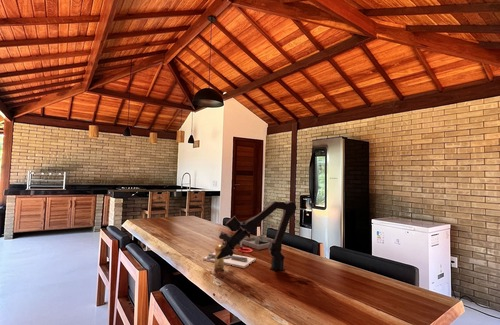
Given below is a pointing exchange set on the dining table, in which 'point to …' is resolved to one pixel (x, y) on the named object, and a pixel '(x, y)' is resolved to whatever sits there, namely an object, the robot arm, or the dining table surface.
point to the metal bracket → (259, 239)
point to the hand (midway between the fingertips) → (217, 257)
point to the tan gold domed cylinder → (219, 262)
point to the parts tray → (261, 245)
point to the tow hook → (244, 248)
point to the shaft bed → (232, 260)
